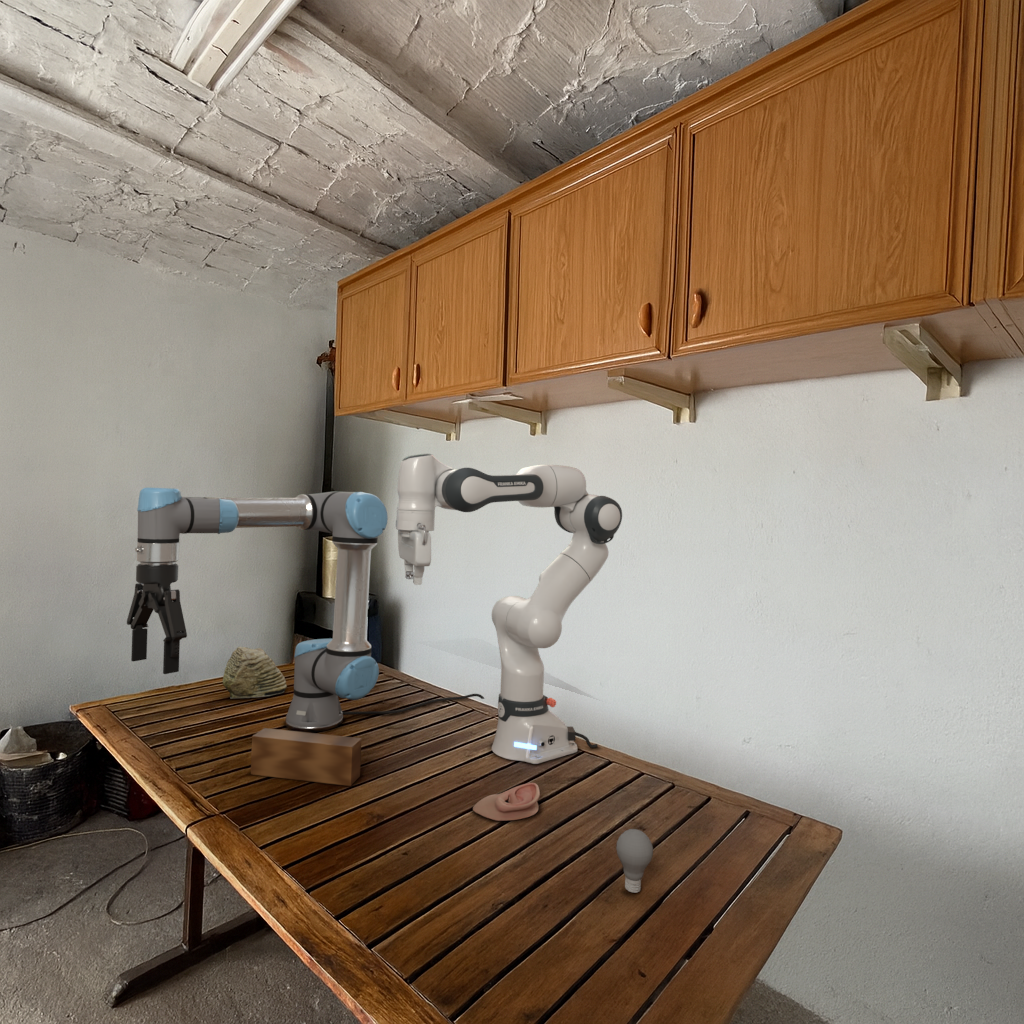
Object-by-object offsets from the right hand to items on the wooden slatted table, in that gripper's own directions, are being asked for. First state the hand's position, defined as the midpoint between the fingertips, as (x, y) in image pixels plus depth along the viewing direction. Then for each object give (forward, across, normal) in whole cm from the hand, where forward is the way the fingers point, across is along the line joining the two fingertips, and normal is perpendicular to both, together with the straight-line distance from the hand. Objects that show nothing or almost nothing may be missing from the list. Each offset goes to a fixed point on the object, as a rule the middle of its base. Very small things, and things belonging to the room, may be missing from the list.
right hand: (413, 581), depth 148 cm
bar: (+44, +2, +23) cm, 50 cm away
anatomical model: (+44, -25, -16) cm, 53 cm away
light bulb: (+44, -57, -27) cm, 77 cm away
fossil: (+44, +65, +35) cm, 86 cm away
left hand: (+17, 0, +53) cm, 56 cm away
